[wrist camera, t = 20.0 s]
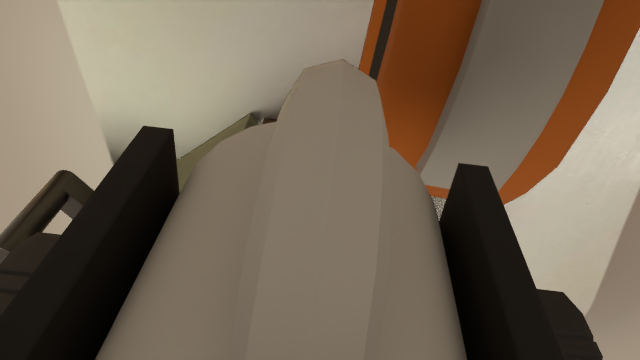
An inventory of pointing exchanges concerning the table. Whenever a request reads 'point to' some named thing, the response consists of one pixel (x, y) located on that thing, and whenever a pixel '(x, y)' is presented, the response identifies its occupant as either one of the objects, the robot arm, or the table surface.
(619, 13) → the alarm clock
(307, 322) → the cup
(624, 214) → the table surface
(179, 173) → the cupboard door
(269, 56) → the table surface
